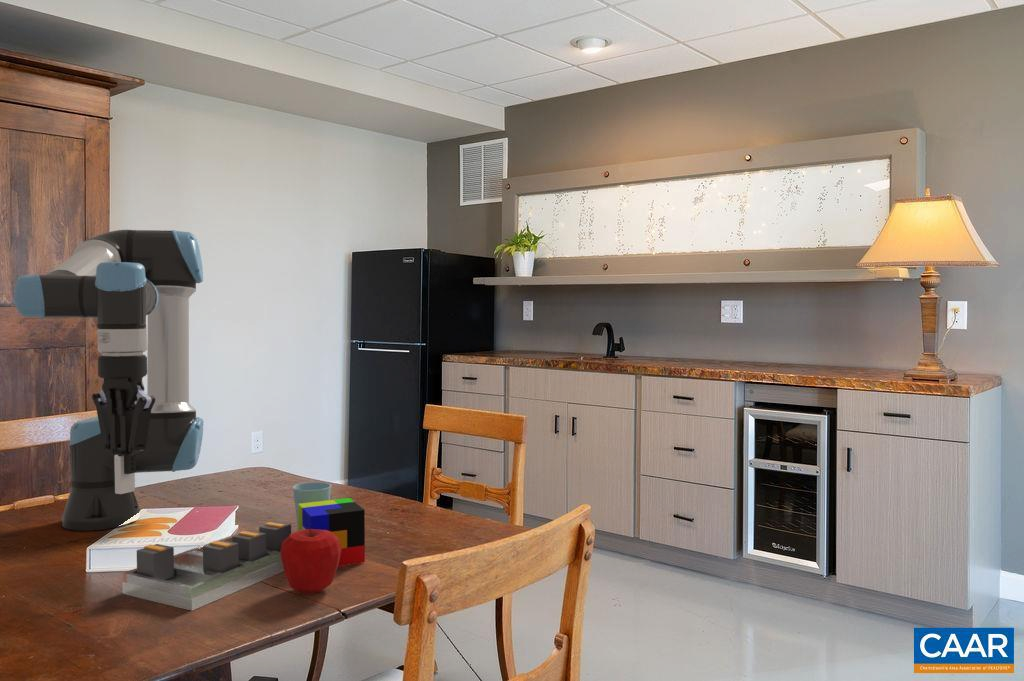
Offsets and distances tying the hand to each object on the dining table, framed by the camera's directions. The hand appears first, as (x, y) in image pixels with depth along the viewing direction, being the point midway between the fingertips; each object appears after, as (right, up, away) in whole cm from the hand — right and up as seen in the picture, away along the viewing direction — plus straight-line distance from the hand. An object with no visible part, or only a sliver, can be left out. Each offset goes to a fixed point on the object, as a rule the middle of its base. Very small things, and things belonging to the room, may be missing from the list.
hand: (125, 491), depth 134 cm
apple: (+32, -16, -2) cm, 36 cm away
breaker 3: (+19, -14, +5) cm, 24 cm away
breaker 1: (+6, -14, -3) cm, 16 cm away
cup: (+24, -15, +30) cm, 41 cm away
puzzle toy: (+32, -16, +15) cm, 38 cm away
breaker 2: (+17, -14, 0) cm, 22 cm away
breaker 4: (+22, -13, +11) cm, 28 cm away
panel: (+14, -16, +4) cm, 22 cm away
